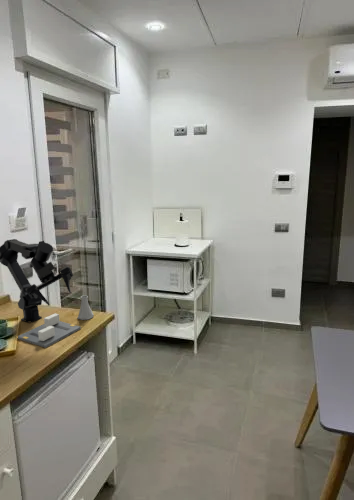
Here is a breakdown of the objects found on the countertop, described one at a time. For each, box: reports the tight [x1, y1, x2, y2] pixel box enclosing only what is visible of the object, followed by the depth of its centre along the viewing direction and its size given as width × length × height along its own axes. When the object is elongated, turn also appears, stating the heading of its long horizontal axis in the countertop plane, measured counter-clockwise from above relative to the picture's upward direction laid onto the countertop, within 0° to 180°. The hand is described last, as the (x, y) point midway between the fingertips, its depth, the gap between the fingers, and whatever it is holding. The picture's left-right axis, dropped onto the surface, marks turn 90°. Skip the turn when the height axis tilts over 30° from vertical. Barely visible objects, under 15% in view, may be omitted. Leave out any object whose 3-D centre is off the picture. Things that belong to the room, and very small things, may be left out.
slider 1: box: [43, 313, 61, 327], centre depth 155 cm, size 2×6×4 cm, turn 151°
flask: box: [77, 295, 94, 321], centre depth 165 cm, size 7×7×10 cm
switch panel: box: [17, 320, 82, 349], centre depth 149 cm, size 16×19×1 cm
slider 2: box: [38, 326, 55, 341], centre depth 143 cm, size 2×6×4 cm, turn 151°
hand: (59, 298), depth 144 cm, fingers open, 9 cm apart
